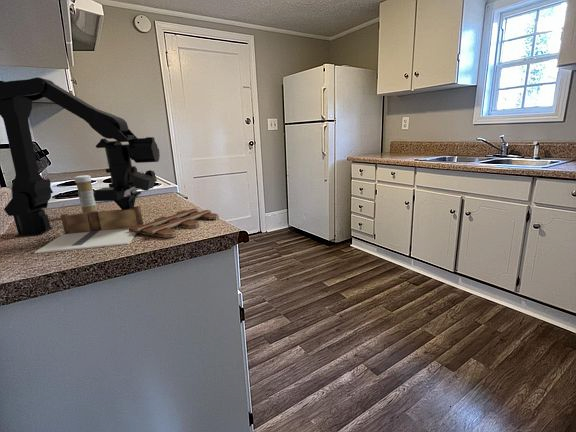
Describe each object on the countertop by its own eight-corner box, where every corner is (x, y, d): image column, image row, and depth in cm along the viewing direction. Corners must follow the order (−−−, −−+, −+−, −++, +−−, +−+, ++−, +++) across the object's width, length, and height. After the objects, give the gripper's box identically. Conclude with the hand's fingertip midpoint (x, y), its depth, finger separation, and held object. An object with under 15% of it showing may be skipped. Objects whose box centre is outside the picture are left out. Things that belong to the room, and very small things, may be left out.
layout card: (34, 253, 71) (34, 251, 71) (69, 231, 87) (68, 230, 87) (127, 244, 75) (127, 242, 75) (144, 224, 91) (144, 223, 91)
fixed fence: (63, 234, 84) (58, 216, 82) (67, 231, 86) (62, 213, 85) (99, 231, 85) (95, 212, 84) (102, 228, 88) (99, 210, 86)
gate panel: (101, 229, 86) (97, 210, 84) (103, 228, 87) (99, 209, 86) (142, 226, 87) (139, 207, 86) (144, 224, 89) (141, 205, 88)
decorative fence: (125, 232, 83) (166, 239, 76) (124, 226, 82) (165, 233, 76) (186, 212, 103) (223, 216, 96) (186, 207, 102) (222, 211, 96)
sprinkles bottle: (85, 214, 108) (76, 175, 104) (99, 212, 109) (91, 174, 105) (81, 217, 103) (72, 177, 100) (96, 215, 105) (88, 176, 101)
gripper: (128, 167, 76) (139, 227, 80) (163, 159, 93) (171, 208, 98) (85, 168, 76) (99, 228, 81) (128, 160, 94) (137, 209, 99)
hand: (130, 217), depth 90 cm, fingers closed
